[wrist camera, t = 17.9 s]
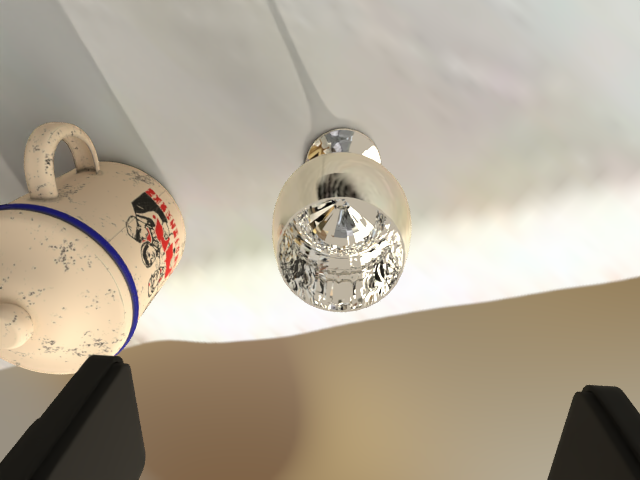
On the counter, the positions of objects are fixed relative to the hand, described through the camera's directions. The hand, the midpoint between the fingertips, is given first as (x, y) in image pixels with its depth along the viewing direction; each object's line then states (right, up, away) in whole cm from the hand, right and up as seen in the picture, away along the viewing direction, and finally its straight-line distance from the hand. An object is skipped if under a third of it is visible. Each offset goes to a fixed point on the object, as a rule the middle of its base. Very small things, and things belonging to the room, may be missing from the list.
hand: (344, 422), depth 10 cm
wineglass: (+1, +8, +18) cm, 20 cm away
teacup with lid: (-13, +6, +20) cm, 25 cm away
